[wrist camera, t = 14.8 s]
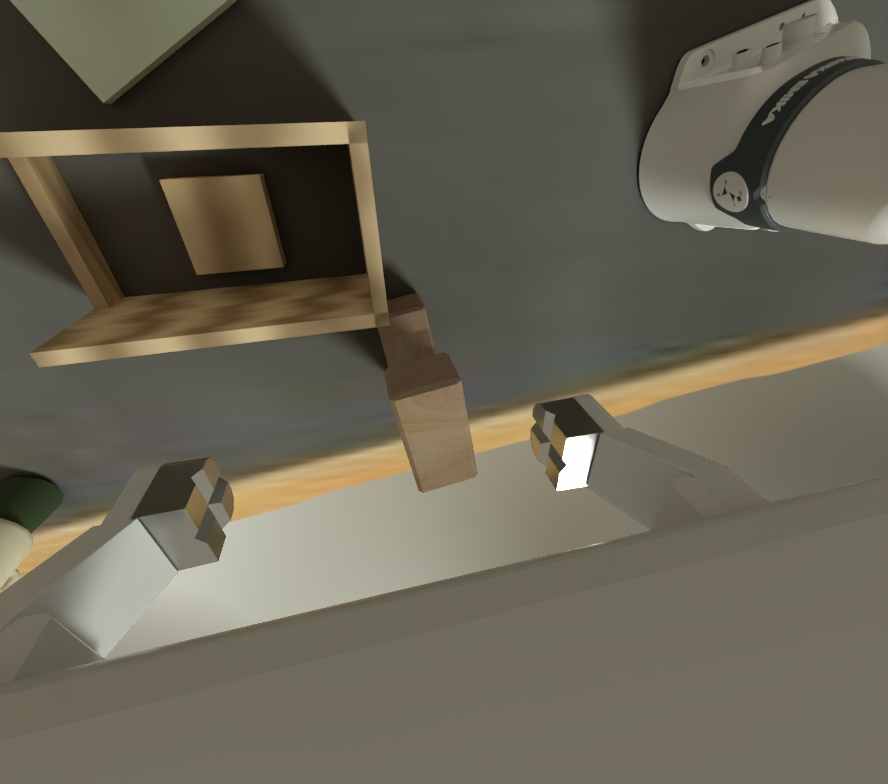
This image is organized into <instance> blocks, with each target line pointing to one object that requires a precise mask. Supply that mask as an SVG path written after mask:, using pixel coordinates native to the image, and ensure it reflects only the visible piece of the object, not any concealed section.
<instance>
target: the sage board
mask: <svg viewBox="0 0 888 784" xmlns="http://www.w3.org/2000/svg"><path fill="white" fill-rule="evenodd" d="M10 1H11V2H12V3H13V4H14V5H15V7H16V8H17V9H18V10H19V11H20V12H21V13H22V14H23V15H24V16H25V18H26V19H27V20H28V21H29V22H30V23H31V24H32V25H33V26H34V27H35V29H36V30H37V31H38V32H39V33H40V34H41V35H42V36H43V37H44V38H45V40H46V41H47V42H48V43H49V44H50V45H51V46H52V47H53V48H54V49H55V50H56V52H57V53H58V54H59V55H60V56H61V57H62V58H63V59H64V60H65V61H66V63H67V64H68V65H69V66H70V67H71V68H72V69H73V70H74V71H75V72H76V74H77V75H78V76H79V77H80V78H81V79H82V80H83V81H84V82H85V83H86V85H87V86H88V87H89V88H90V89H91V90H92V91H93V92H94V93H95V94H96V95H97V97H98V98H99V99H100V100H101V101H102V102H103V103H106V104H112V103H113V102H115V101H116V100H117V99H118V98H119V97H121V96H122V95H123V94H124V93H126V92H127V91H128V90H129V89H130V88H132V87H133V86H134V85H135V84H136V83H138V82H139V81H140V80H141V79H143V78H144V77H145V76H146V75H147V74H149V73H150V72H151V71H152V70H153V69H155V68H156V67H157V66H158V65H160V64H161V63H162V62H163V61H164V60H166V59H167V58H168V57H169V56H170V55H172V54H173V53H174V52H175V51H177V50H178V49H179V48H180V47H181V46H183V45H184V44H185V43H186V42H187V41H189V40H190V39H191V38H192V37H193V36H195V35H196V34H197V33H198V32H200V31H201V30H202V29H203V28H204V27H206V26H207V25H208V24H209V23H210V22H212V21H213V20H214V19H215V18H217V17H218V16H219V15H220V14H221V13H223V12H224V11H225V10H226V9H227V8H229V7H230V6H231V5H232V4H234V3H235V2H236V1H237V0H10Z"/></svg>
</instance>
